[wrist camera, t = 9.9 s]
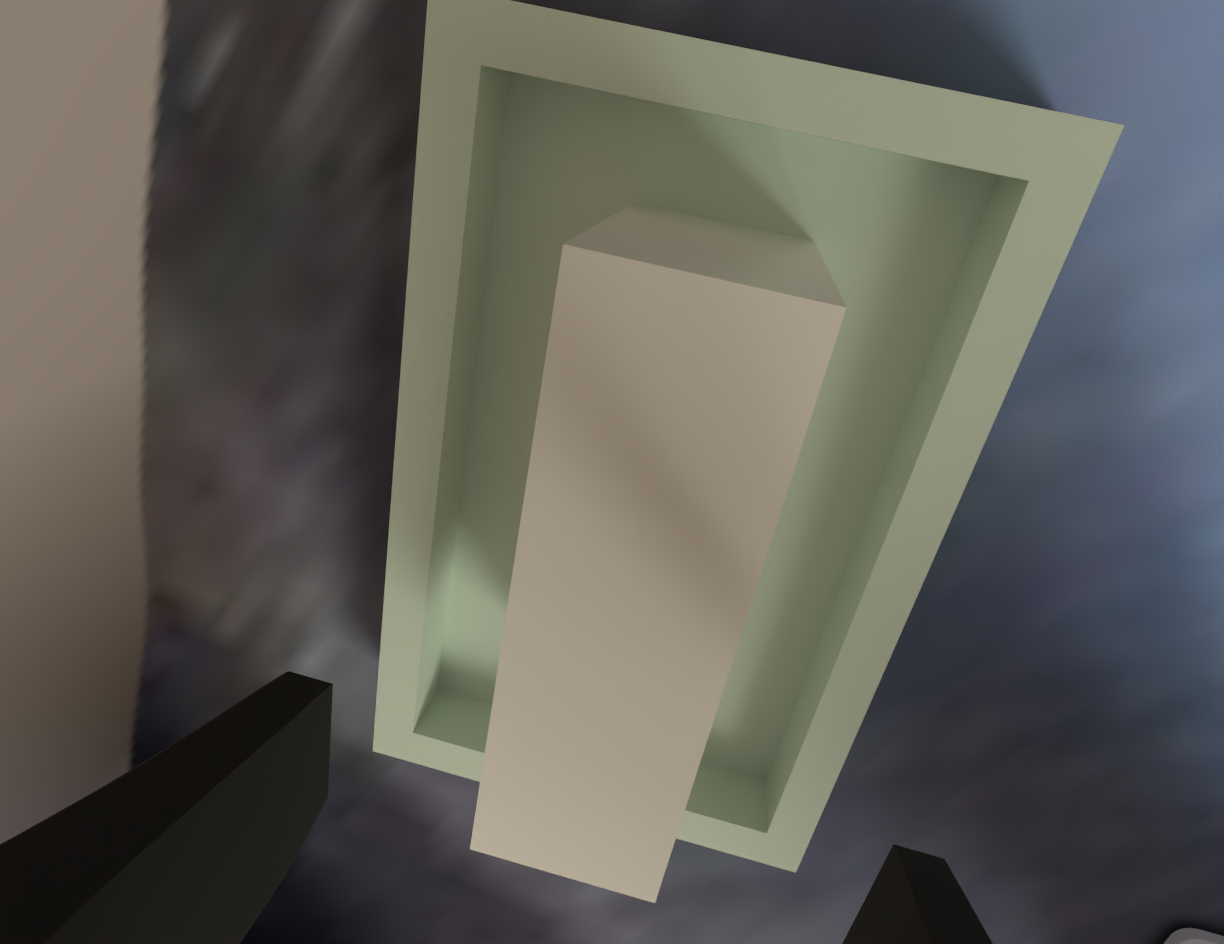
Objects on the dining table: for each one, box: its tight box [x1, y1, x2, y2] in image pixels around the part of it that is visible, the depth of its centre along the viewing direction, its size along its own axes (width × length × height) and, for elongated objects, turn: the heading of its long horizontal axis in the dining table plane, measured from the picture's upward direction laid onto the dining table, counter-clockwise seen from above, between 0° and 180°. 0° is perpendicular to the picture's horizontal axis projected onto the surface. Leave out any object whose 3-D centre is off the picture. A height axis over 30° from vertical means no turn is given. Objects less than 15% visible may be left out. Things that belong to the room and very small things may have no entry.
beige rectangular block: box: [470, 203, 847, 903], centre depth 14 cm, size 4×11×6 cm, turn 169°
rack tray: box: [373, 0, 1124, 873], centre depth 17 cm, size 11×17×2 cm, turn 169°
